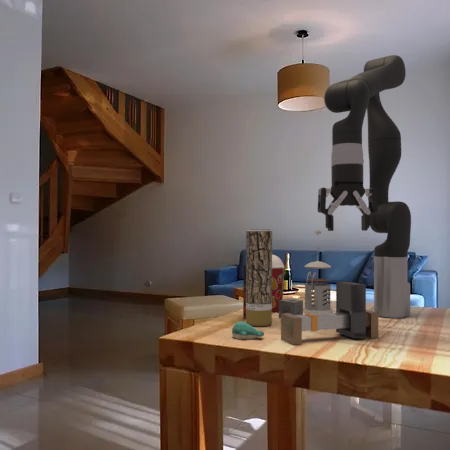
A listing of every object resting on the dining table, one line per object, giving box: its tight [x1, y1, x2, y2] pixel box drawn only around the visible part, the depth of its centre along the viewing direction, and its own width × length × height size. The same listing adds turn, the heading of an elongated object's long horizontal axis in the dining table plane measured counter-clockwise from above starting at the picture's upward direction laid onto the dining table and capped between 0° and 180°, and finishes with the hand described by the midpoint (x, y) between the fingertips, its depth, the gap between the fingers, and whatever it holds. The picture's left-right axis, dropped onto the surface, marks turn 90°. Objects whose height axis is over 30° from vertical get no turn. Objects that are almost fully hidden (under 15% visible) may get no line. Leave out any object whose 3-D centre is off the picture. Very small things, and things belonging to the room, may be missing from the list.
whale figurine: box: [231, 320, 265, 340], centre depth 109 cm, size 6×7×4 cm
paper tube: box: [245, 228, 273, 327], centre depth 125 cm, size 7×7×25 cm
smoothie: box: [272, 254, 286, 313], centre depth 146 cm, size 8×8×20 cm
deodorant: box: [242, 263, 246, 321], centre depth 133 cm, size 6×6×15 cm
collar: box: [335, 280, 367, 340], centre depth 111 cm, size 3×7×12 cm, turn 20°
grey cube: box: [278, 298, 304, 319], centre depth 135 cm, size 5×5×5 cm
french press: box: [303, 229, 335, 314], centre depth 145 cm, size 10×12×25 cm
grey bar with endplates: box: [280, 309, 379, 346], centre depth 109 cm, size 22×6×6 cm, turn 110°
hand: (347, 230), depth 115 cm, fingers open, 8 cm apart
